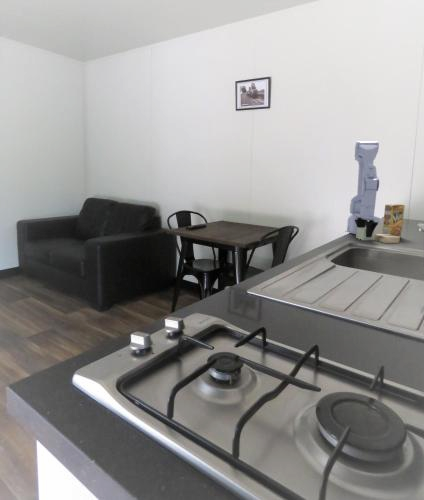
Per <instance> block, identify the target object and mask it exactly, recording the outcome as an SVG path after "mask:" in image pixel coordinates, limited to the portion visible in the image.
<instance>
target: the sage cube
mask: <svg viewBox="0 0 424 500" xmlns="http://www.w3.org/2000/svg"><path fill="white" fill-rule="evenodd" d="M374 232H375V230H374V231H373V234H372V236H371V237H366V227H357V234H355V235H356V237H355V238H356V239H357V238H358V239H357V240H360V239H361V240H360V241H373V240H374V235H375V234H374Z"/></svg>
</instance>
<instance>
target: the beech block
mask: <svg viewBox="0 0 424 500" xmlns="http://www.w3.org/2000/svg"><path fill="white" fill-rule="evenodd" d="M400 238H401V237H399V236H394V235H390V234H382V233H380V234H379V233H376V234H374V241H375V240H376V242H380V243H382V242H383V243H382V244H399V243H400Z"/></svg>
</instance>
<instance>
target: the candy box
mask: <svg viewBox="0 0 424 500" xmlns="http://www.w3.org/2000/svg"><path fill="white" fill-rule="evenodd" d="M405 207H406V206H405V204H400V203H399V204H398V203H396V204H395V203H393V204H392V203H391V204H385V205H384V215H383V224H382V232H381V234H390V235H394V236H399V237H400V238H402V232H403V223H404V217H405V216H404V215H405Z"/></svg>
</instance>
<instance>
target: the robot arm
mask: <svg viewBox="0 0 424 500" xmlns="http://www.w3.org/2000/svg"><path fill="white" fill-rule="evenodd" d="M379 145H380V143H379V141H377V140H375V141H374V140H373V141H369V140H368V141H363V140H362V141H360V140H357V141H356V143H355V145H354V160H355V161H356V162H357V163H358V173H357V174H358V177H357V193H356V194H357V195H355V196H353V197H351V200H350V205H349V214H350V216H349V217H348V219H347V226H346V230H345V231H344V232H346V233H349V234H354V235H357V227H366V237H371V236H372V234H373V231H374V232H375V229H376V227H377V226H378V225H379V223H380V218H381V217H378V216H375V208H376V200H377V194H378V193H377V192H378V191H379V187H380V179H379V176H377V175H378V174H377V167H376V166H375V165H374V161H375V160H376V157H377V155H378V152H379V147H380V146H379ZM373 235H374V234H373Z"/></svg>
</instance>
